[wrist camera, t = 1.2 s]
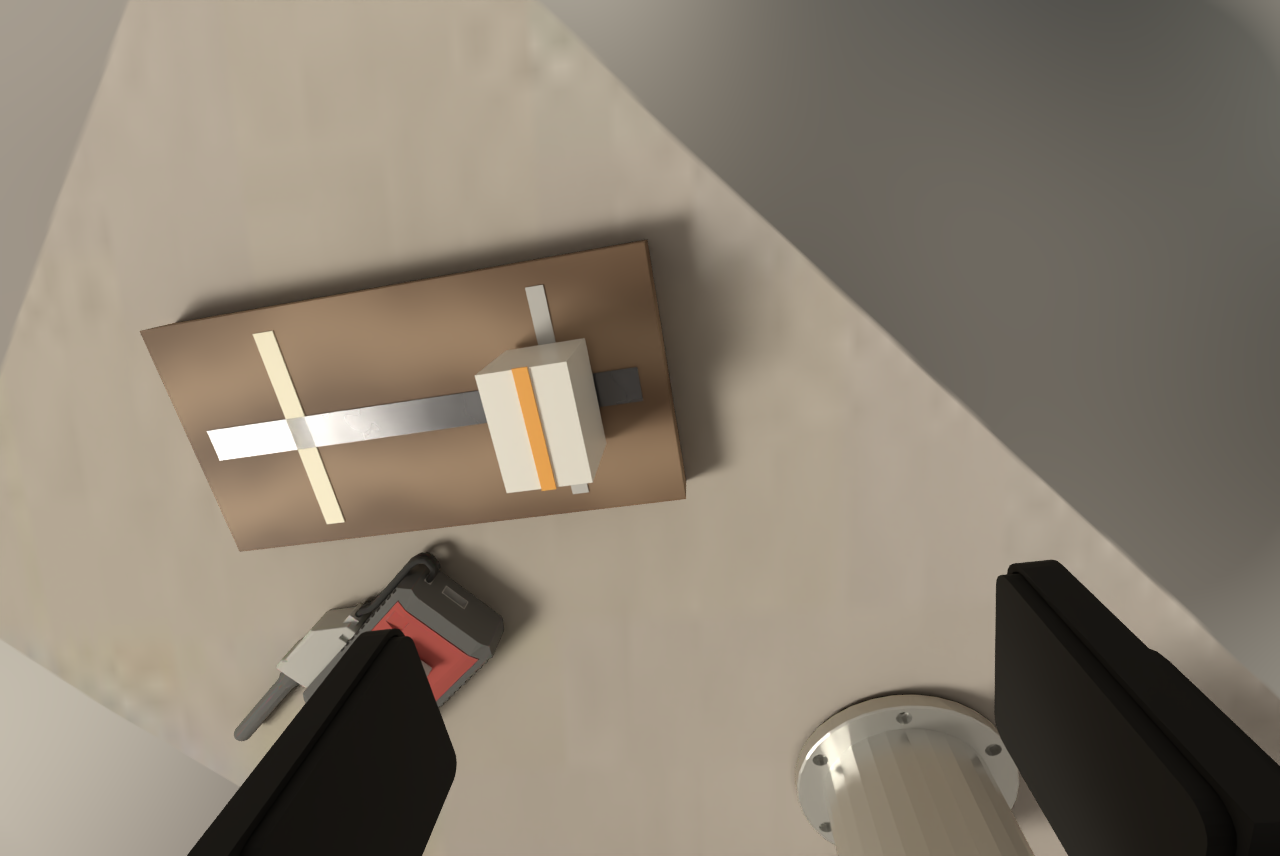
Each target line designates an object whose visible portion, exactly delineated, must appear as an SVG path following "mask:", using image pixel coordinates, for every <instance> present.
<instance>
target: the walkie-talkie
mask: <svg viewBox="0 0 1280 856" xmlns="http://www.w3.org/2000/svg"><path fill="white" fill-rule="evenodd" d="M421 563H423V564H421ZM439 569H440V564H439V561H438V560H437V559H436V558H435V557H434V556H433V555H432V554H430V553H420V554H418V555H416V556H414V557H412V558H411V559H410V561H409V562H408V563H407V564H406V565H405V566H404V567H403V569H402V570H401V571H400V572H399V573H398V574H397V575H396V577H395V578H394V579H393V580H392V581H391V582H390V583H389V585H388V586H387V587H386V588H385V589H384V590H383V591H382V592H381V593H380V594H379V595H378V597H377V598H376V599H375V600H373V601H372V602H369V603H365V604H364V605H362V604H361V603H359V604H358V605H357V606H356V607H349V608H341V609H334V610H330V611H327V612H326V613H325V614H324V615H323V617H322V618H321V619H320V620H319V621H318V622H317V623H316V624H315V625H314V627H313V628H312V629H311V630H310V631H309V632H308V633H307V635H306V636H305V637H304V638H303V639H302V640H299V641H298V642H297V643H296V644H295V645H294V646H293V647H292V649H291V650H290V651H289V652H288V653H287V654H286V655H285V656H284V657H283V659H282V660H281V661H280V662H279V664H278V665H277V669H278V670H279V671H281V673H280V677H279V679H278V680H277V681H276V682H275V684H274V685H273V686H272V687H271V688H270V689H269V691H268V692H267V693H266V694H265V695H264V696H263V698H262V699H261V700H260V701H259V702H258V704H257V705H256V706H255V707H254V708H253V709H252V711H251V712H250V713H249V714H248V715H247V716H246V718H245V719H244V720H243V721H242V722H241V723H240V725H239V726H238V727H237V728H236V729H235V732H234V737H235V739H236V740H238V741H245V740H247V739H249V738H250V737H251V736H252V734H253V733H254V732H255V731H256V730H257V729H258V727H259V726H260V725H261V724H262V723H263V722H264V721H265V719H266V718H267V717H268V716H269V715H270V714H271V713H272V711H273V710H274V709H275V708H276V707H277V706H278V704H279V703H280V702H281V701H282V700H283V699H284V698H285V696H286V695H287V694H288V693H289V692H290V691H291V690H292V688H294V687H296V686H298V685H299V684H300V685H302V686H303V687H305V688H307V689H306V690H305V691H304V693H303V696H304V701H305V702H307V701H308V700H309V699H310V697H311V696H312V695H313V693H314V692H315V691H316V690H317V688H318V687H319V686H320V685H321V683H322V682H323V681H324V679H325V678H326V677H327V676H328V674H329V673H330V672H331V670H332V669H333V668H334V667H335V665H336V664H337V663H338V661H339V660H340V659H341V658H342V656H343V655H344V654H345V653H346V651H347V650H348V649H349V647H350V646H351V645H352V644H353V642H354V641H355V640H356V638H357V637H358V636H359V635H360V634H361V633H363V632H366V631H375V630H384V629H394V628H396V629H400V630H401V631H402V632H403V633H404V635H405V636H409V637H411V638H412V639H413V641H414V643H415V646H416V649H417V651H418V654H419V657H420V659H421V662H422V665H423V668H424V670H425V673H426V676H427V678H428V681H429V684H430V687H431V689H432V692H433V695H434V697H435V700H436V703H437V705H438V708H439V707H440V706H442V705H443V704H444V702H445V701H448V700H449V698H450V696H451V695H454V693H455V691H456V690H459V689H460V687H461V685H464V684H465V683H466V680H469V679H470V678H471V676H472V674H475V673H476V672H477V670H478V669H481V668H482V666H483V664H484V663H487V662H488V659H489V658H492V657H493V654H494V652H495V650H496V647H497V645H498V643H499V640H500V638H501V636H502V634H503V631H504V626H503V619H502V617H501V616H500V615H499V614H497V613H496V612H495V611H493V610H492V609H491V608H489V607H488V606H486V605H485V604H484V603H482V602H481V601H480V600H478V599H477V598H476V597H474V596H473V595H472V594H470V593H469V592H468V591H466V590H465V589H464V588H462V587H461V586H460V585H458V584H457V583H456V582H454V581H453V580H452V579H450V578H449V577H447V576H446V575H445V574H443V573H442V572H441V571H439ZM373 610H374V611H373ZM372 611H373V612H372Z"/></svg>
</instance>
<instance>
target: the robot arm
mask: <svg viewBox="0 0 1280 856" xmlns="http://www.w3.org/2000/svg"><path fill="white" fill-rule="evenodd" d="M995 722H996V726H997V728H996V727H995V726H994V725H993V724H992V723H991V722H990V721H989V720H987V719H986V718H985V717H983V716H982V715H980V714H979V713H978V712H976V711H975V710H972V709H970V708H968V707H966V706H964V705H962V704H959V703H957V702H954V701H950V700H946V699H942V698H939V697H933V696H923V695H892V696H887V697H881V698H876V699H871V700H868V701H865V702H862V703H859V704H856V705H853V706H851V707H849V708H847V709H845V710H843V711H841V712H839V713H837V714H835V715H834V716H832V717H831V718H830V719H828V720H827V721H826V722H824V723H823V724H822V725H820V726H819V727H818V728H817V729H816V730H815V732H814V733H813V734H812V735H811V736H810V737H809V738H808V739H807V741H806V743H805V745H804V746H803V748H802V750H801V752H800V753H799V757H798V760H797V764H796V767H795V785H796V790H797V795H798V801H799V804H800V807H801V809H802V812H803V814H804V816H805V818H806V819H807V820H808V822H809V823H810V825H811V826H812V828H813V829H815V830H816V831H817V832H818V833H819V834H820V835H821V836H822V837H823V838H824V839H826V840H827V841H829V842H830V843H832V844H834V845H835V846H836V851H837V855H838V856H1035V855H1034V853H1033V851H1032V849H1031V848H1030V846H1029V844H1028V842H1027V840H1026V838H1025V836H1024V834H1023V832H1022V830H1021V829H1020V827H1019V825H1018V823H1017V821H1016V819H1015V817H1014V815H1013V813H1012V812H1011V809H1012V807H1013V805H1014V803H1015V801H1016V799H1017V795H1018V789H1019V784H1020V780H1019V772H1020V773H1021V775H1022V777H1023V778H1024V780H1025V782H1026V784H1027V785H1028V787H1029V789H1030V790H1031V792H1032V794H1033V796H1034V797H1035V799H1036V801H1037V803H1038V804H1039V806H1040V808H1041V809H1042V811H1043V813H1044V815H1045V816H1046V818H1047V820H1048V821H1049V823H1050V825H1051V827H1052V828H1053V830H1054V832H1055V834H1056V835H1057V837H1058V839H1059V840H1060V842H1061V844H1062V846H1063V847H1064V849H1065V851H1066V852H1067V854H1068V856H1280V766H1279V765H1278V764H1277V763H1276V762H1275V761H1274V760H1273V759H1272V758H1271V757H1270V756H1269V755H1267V754H1266V753H1265V752H1264V751H1263V750H1262V749H1261V748H1260V747H1259V746H1258V745H1257V744H1256V743H1255V742H1254V741H1253V740H1252V739H1251V738H1250V737H1249V736H1247V735H1246V734H1245V733H1244V732H1243V731H1242V730H1241V729H1240V728H1239V727H1238V726H1237V725H1236V724H1235V723H1234V722H1233V721H1232V720H1231V719H1230V718H1229V717H1227V716H1226V715H1225V714H1224V713H1223V712H1222V711H1221V710H1220V709H1219V708H1218V707H1217V706H1216V705H1215V704H1214V703H1213V702H1212V701H1211V700H1210V699H1209V698H1207V697H1206V696H1205V695H1204V694H1203V693H1202V692H1201V691H1200V690H1199V689H1198V688H1197V687H1196V686H1195V685H1194V684H1193V683H1192V682H1191V681H1190V680H1189V679H1187V678H1186V677H1185V676H1184V675H1183V674H1182V673H1181V672H1180V671H1179V670H1178V669H1177V668H1176V667H1175V666H1174V665H1173V664H1172V663H1171V662H1170V661H1169V660H1167V659H1166V658H1165V657H1163V656H1162V655H1161V654H1159V653H1158V652H1157V651H1154V650H1151V649H1149V648H1148V647H1147V646H1146V645H1145V644H1144V643H1143V642H1142V641H1141V640H1140V639H1138V638H1137V637H1136V636H1135V635H1134V634H1133V633H1132V632H1131V631H1130V630H1129V629H1128V628H1127V627H1126V626H1125V625H1124V624H1123V623H1122V622H1121V621H1120V620H1119V619H1118V618H1117V617H1116V616H1115V615H1114V614H1113V613H1112V612H1111V611H1109V610H1108V609H1107V608H1106V607H1105V606H1104V605H1103V604H1102V603H1101V602H1100V601H1099V600H1098V599H1097V598H1096V597H1095V596H1094V595H1093V594H1092V593H1091V592H1090V591H1089V590H1088V589H1087V588H1086V587H1085V586H1084V585H1083V584H1081V583H1080V582H1079V581H1078V580H1077V579H1076V578H1075V577H1074V576H1073V575H1072V574H1071V573H1070V572H1069V571H1068V570H1067V569H1066V568H1065V567H1064V566H1063V565H1062V564H1060V563H1059V562H1058V561H1056V560H1044V561H1035V562H1025V563H1015V564H1012V565H1010V566H1009V568H1008V572H1007V575H1000V576H998V578H997V582H996V636H995ZM456 764H457V762H456V755H455V751H454V749H453V746H452V743H451V741H450V738H449V735H448V733H447V730H446V727H445V724H444V722H443V719H442V716H441V714H440V711H439V708H438V705H437V703H436V700H435V697H434V695H433V692H432V689H431V687H430V684H429V681H428V678H427V676H426V673H425V670H424V668H423V665H422V662H421V659H420V657H419V654H418V651H417V649H416V646H415V643H414V641H413V639H412V638H411V637H409V636H405V635H404V633H403V632H402V631H401V630H400V629H396V628H394V629H384V630H375V631H366V632H363V633H361V634H360V635H359V636H358V637H357V638H356V640H355V641H354V642H353V644H352V645H351V646H350V647H349V649H348V650H347V651H346V653H345V654H344V655H343V656H342V658H341V659H340V660H339V661H338V663H337V664H336V665H335V667H334V668H333V669H332V670H331V672H330V673H329V674H328V676H327V677H326V678H325V679H324V681H323V682H322V683H321V685H320V686H319V687H318V688H317V690H316V691H315V692H314V693H313V695H312V696H311V697H310V699H309V700H308V701H307V702H306V704H305V705H304V706H303V708H302V709H301V710H300V711H299V713H298V714H297V715H296V717H295V718H294V719H293V720H292V722H291V723H290V724H289V725H288V727H287V728H286V729H285V731H284V732H283V733H282V734H281V736H280V737H279V738H278V740H277V741H276V742H275V743H274V745H273V746H272V747H271V749H270V750H269V751H268V752H267V754H266V755H265V756H264V758H263V759H262V760H261V761H260V763H259V764H258V765H257V766H256V768H255V769H254V770H253V772H252V773H251V774H250V775H249V777H248V778H247V779H246V781H245V782H244V783H243V784H242V786H241V787H240V788H239V790H238V791H237V792H236V793H235V795H234V796H233V797H232V799H231V800H230V801H229V802H228V804H227V805H226V806H225V807H224V809H223V810H222V811H221V813H220V814H219V815H218V816H217V818H216V819H215V820H214V822H213V823H212V824H211V825H210V827H209V828H208V829H207V830H206V832H205V833H204V834H203V836H202V837H201V838H200V839H199V841H198V842H197V843H196V845H195V846H194V847H193V848H192V850H191V851H190V852H189V854H188V855H187V856H422V854H423V852H424V850H425V847H426V845H427V842H428V840H429V838H430V835H431V833H432V830H433V828H434V826H435V823H436V821H437V819H438V816H439V814H440V811H441V809H442V807H443V804H444V802H445V799H446V797H447V795H448V792H449V790H450V787H451V785H452V783H453V780H454V777H455V773H456Z"/></svg>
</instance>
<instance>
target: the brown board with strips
mask: <svg viewBox="0 0 1280 856" xmlns="http://www.w3.org/2000/svg"><path fill="white" fill-rule="evenodd" d="M140 333H141V335H142V337H143V340H144V342H145V344H146V346H147V348H148V351H149V353H150V355H151V357H152V359H153V362H154V364H155V366H156V368H157V370H158V373H159V375H160V377H161V379H162V381H163V384H164V386H165V388H166V390H167V392H168V395H169V397H170V399H171V401H172V404H173V406H174V408H175V410H176V412H177V415H178V417H179V419H180V421H181V423H182V426H183V428H184V430H185V432H186V434H187V437H188V439H189V441H190V443H191V445H192V448H193V450H194V452H195V454H196V456H197V459H198V461H199V463H200V465H201V467H202V470H203V472H204V474H205V476H206V478H207V481H208V483H209V485H210V487H211V489H212V492H213V494H214V496H215V498H216V500H217V503H218V505H219V507H220V509H221V512H222V514H223V516H224V518H225V520H226V523H227V525H228V527H229V529H230V531H231V534H232V536H233V538H234V540H235V542H236V545H237V547H238V549H239V551H240V552H241V551H250V550H258V549H267V548H275V547H283V546H292V545H300V544H309V543H317V542H326V541H334V540H343V539H351V538H359V537H368V536H376V535H385V534H393V533H402V532H410V531H419V530H427V529H436V528H444V527H452V526H461V525H469V524H478V523H486V522H495V521H503V520H512V519H520V518H528V517H537V516H545V515H554V514H562V513H571V512H579V511H588V510H596V509H604V508H613V507H621V506H630V505H638V504H647V503H655V502H664V501H672V500H681V499H686V477H685V471H684V465H683V459H682V452H681V446H680V440H679V434H678V427H677V421H676V415H675V409H674V403H673V396H672V390H671V384H670V378H669V371H668V365H667V359H666V353H665V347H664V340H663V334H662V328H661V322H660V315H659V309H658V303H657V297H656V291H655V284H654V278H653V272H652V266H651V260H650V253H649V247H648V241H647V240H641V241H636V242H630V243H624V244H619V245H613V246H608V247H602V248H596V249H591V250H585V251H579V252H574V253H568V254H562V255H557V256H551V257H545V258H540V259H534V260H528V261H523V262H517V263H511V264H506V265H500V266H494V267H489V268H483V269H477V270H472V271H466V272H460V273H455V274H449V275H443V276H438V277H432V278H427V279H421V280H415V281H410V282H404V283H398V284H393V285H387V286H381V287H376V288H370V289H364V290H359V291H353V292H347V293H342V294H336V295H330V296H325V297H319V298H313V299H308V300H302V301H296V302H291V303H285V304H279V305H274V306H268V307H262V308H257V309H251V310H246V311H240V312H234V313H229V314H223V315H217V316H212V317H206V318H200V319H195V320H189V321H183V322H178V323H172V324H168V325H164V326H159V327H155V328H151V329H147V330H142V331H140ZM582 338H585V341H586V346H587V351H588V356H589V361H590V366H591V370H592V375H593V380H594V385H595V390H596V395H597V400H598V405H599V410H600V414H601V419H602V424H603V429H604V434H605V439H606V446H605V449H604V452H603V455H602V457H601V460H600V463H599V466H598V469H597V472H596V475H595V478H594V480H593V483H585V484H577V485H569V486H561V487H557V489H554V490H546V491H542V490H541V489H537V490H529V491H521V492H513V493H506V489H505V485H504V482H503V478H502V474H501V471H500V467H499V463H498V460H497V456H496V452H495V449H494V445H493V441H492V438H491V434H490V430H489V427H488V423H487V419H486V416H485V412H484V408H483V405H482V401H481V397H480V394H479V390H478V386H477V383H476V379H475V375H476V374H477V373H478V372H480V371H481V370H482V369H484V368H485V367H486V366H487V365H489V364H490V363H491V362H492V361H494V360H495V359H496V358H497V357H499V356H500V355H501V354H502V353H504V352H505V351H506V350H512V349H518V348H524V347H531V346H537V345H543V344H550V343H556V342H563V341H569V340H575V339H582Z"/></svg>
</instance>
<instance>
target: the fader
mask: <svg viewBox="0 0 1280 856" xmlns="http://www.w3.org/2000/svg"><path fill="white" fill-rule="evenodd" d="M475 379H476V383H477V386H478V390H479V394H480V397H481V401H482V405H483V408H484V412H485V416H486V419H487V423H488V427H489V430H490V434H491V438H492V441H493V445H494V449H495V452H496V456H497V460H498V463H499V467H500V471H501V474H502V478H503V482H504V485H505V489H506V493H513V492H521V491H529V490H537V489H541V490H542V491H546V490H554V489H557V487H561V486H569V485H577V484H585V483H593V480H594V478H595V475H596V472H597V469H598V466H599V463H600V460H601V457H602V455H603V452H604V449H605V446H606V439H605V434H604V429H603V424H602V419H601V414H600V410H599V405H598V400H597V395H596V390H595V385H594V380H593V375H592V370H591V366H590V361H589V356H588V351H587V346H586V341H585V338H582V339H575V340H569V341H563V342H556V343H550V344H543V345H537V346H531V347H524V348H518V349H512V350H506V351H505V352H504V353H502V354H501V355H500V356H499V357H497V358H496V359H495V360H494V361H492V362H491V363H490V364H489V365H487V366H486V367H485V368H484V369H482V370H481V371H480V372H478V373H477V374H476V375H475Z"/></svg>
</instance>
